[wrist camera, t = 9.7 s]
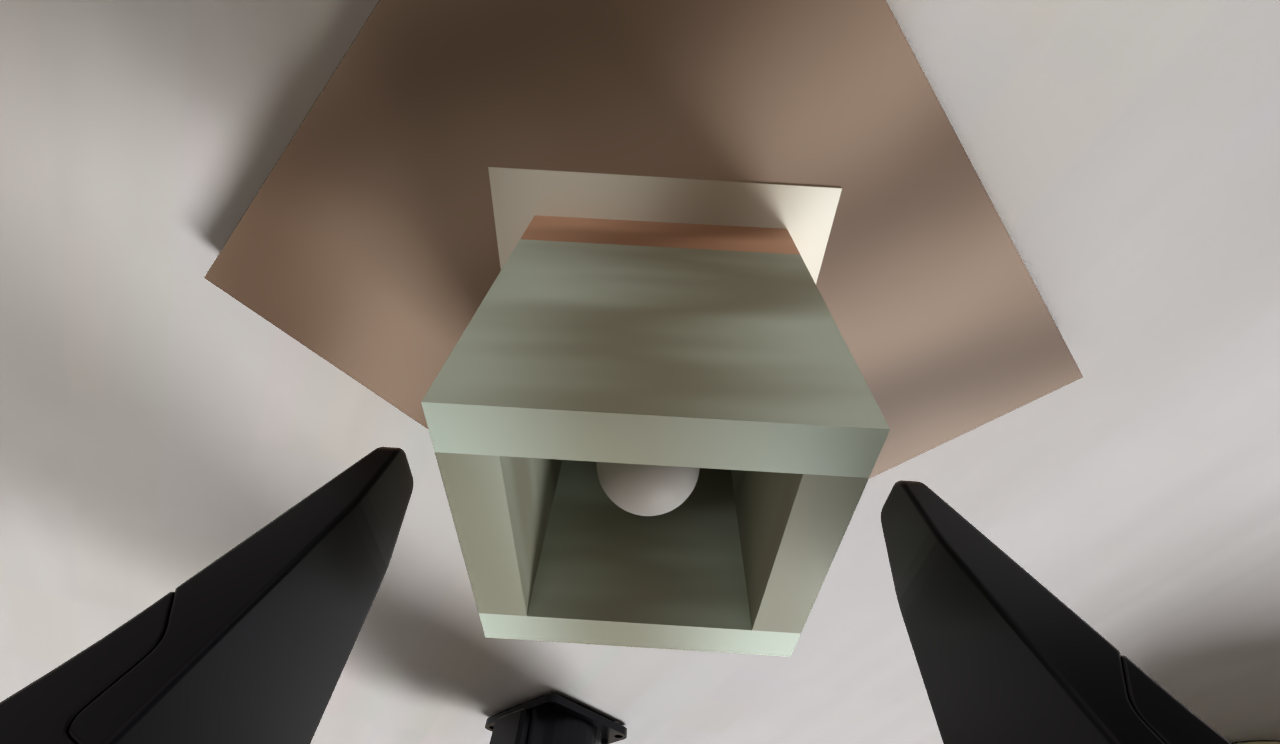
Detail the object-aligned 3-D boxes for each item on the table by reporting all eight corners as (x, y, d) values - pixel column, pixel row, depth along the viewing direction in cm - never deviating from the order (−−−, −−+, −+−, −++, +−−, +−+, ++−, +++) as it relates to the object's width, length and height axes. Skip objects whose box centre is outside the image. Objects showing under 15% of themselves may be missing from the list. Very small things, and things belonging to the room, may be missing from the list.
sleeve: (787, 228, 12) (890, 429, 7) (746, 419, 16) (790, 657, 10) (534, 215, 12) (421, 401, 7) (550, 408, 16) (485, 637, 10)
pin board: (1061, 356, 15) (1295, 570, 10) (653, 559, 22) (648, 754, 16) (657, -393, 8) (630, -1437, 2) (229, 261, 15) (-50, 431, 9)
